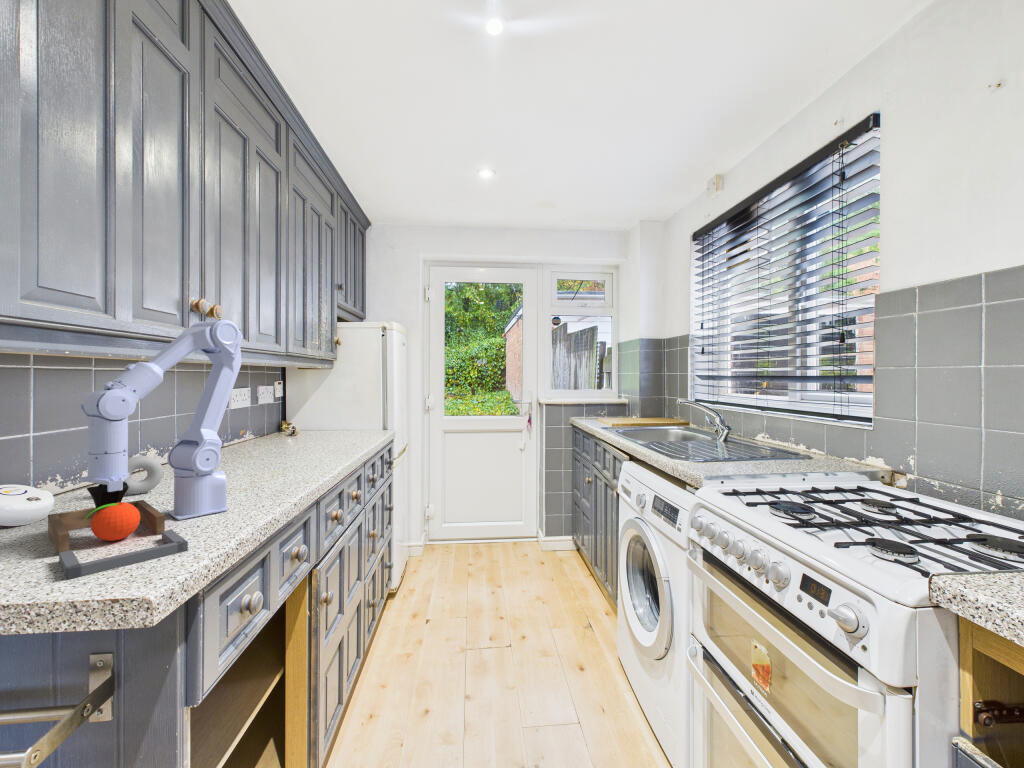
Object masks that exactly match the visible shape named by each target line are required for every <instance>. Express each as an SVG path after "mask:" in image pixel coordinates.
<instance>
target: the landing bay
mask: <svg viewBox="0 0 1024 768" xmlns="http://www.w3.org/2000/svg"><path fill="white" fill-rule="evenodd" d="M161 540H162V542H164V543H165V544H160V545H157V546H153V547H149V548H143V549H139V550H134V551H130V552H125V553H121V554H117V555H113V556H109V557H108V556H107V557H103V558H100V559H95V560H91V561H85V562H82V563H80V562H79V560H78V557H77V556H76V554H75V553H74V551H73V550H72V549H71V550H70V549H69V551H65V552H60V553H59V554H58V562H59V564H60V566H61V568H62V570H63V573H64V575H65V577H66V579H67V580H71V579H75V578H79V577H84V576H88V575H93V574H96V572H97V573H101V572H105V571H109V570H112V569H111V568H113V569H116V568H115V567H117V568H120V567H119V566H122V567H125V566H124V565H126V566H129V564H130V565H132V564H133V563H134V564H137V563H142V562H146V561H150V560H155V559H158V558H162V557H166V556H170V555H174V554H178V553H183V552H187V551H188V550H189V547H188V546H189V542H188V541H187V540H186V539H185V538H184V537H182V536H181V535H180V534H179V533H177V532H176V531H174V530H173V529H167V530H165V531H162V534H161ZM186 550H187V551H186ZM108 569H109V570H108ZM104 570H105V571H104ZM100 571H101V572H100ZM92 573H93V574H92Z"/></svg>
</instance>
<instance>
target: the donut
mask: <svg viewBox="0 0 1024 768" xmlns="http://www.w3.org/2000/svg"><path fill="white" fill-rule="evenodd" d="M138 469H142V470H144V471H146V473H147V474H146V476H145V478H143V479H141V480H135V479H133V478H132V474H133V472H134V471H136V470H138ZM128 472H129V477H128V478H127V479H126V480H124V481H123V482H126V483H127V485H128V486H129V488H128V490H127V492H126V493H125V494H130V495H141V494H144V493H148V492H150V491H152V490H153V489H156V487H157V486H158V485H159V484H160V482H161V481H162V479H163V476H164V469H163V465H162V464H161V463H160V461H159V460H157V459H156V458H154V457H152V456H148V455H137V456H136V455H135V456H132V457H130V458H129V457H128ZM140 493H141V494H140Z"/></svg>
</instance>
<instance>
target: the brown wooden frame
mask: <svg viewBox="0 0 1024 768" xmlns="http://www.w3.org/2000/svg"><path fill="white" fill-rule="evenodd" d="M125 503H129V504H131V505H133V506H134V507H136V508H137V509H138V511H139V513H140V517H141V518H140V520H141V521H142V522H143V523H144V524H143V523H142V522H141V521H140V522H141V523H142V524H143V525H145V526H146V527H147V528H148V529H149V530H150V529H151V530H150V531H151V532H153V533H154V535H156V536H159V535H162V531H166V530H165V529H166V528H165V527H166V526H165V525H166V524H165V522H166V521H165V517H166V516H165V515H164V514H163V513H162V512H161V511H159V510H158V509H156V508H155V507H153V506H152V505H151V504H149V503H148V502H147V501H145V500H144V499H141V500H140V499H139V500H134V501H127V502H125ZM95 509H96V506H95V507H90V508H89V507H88V508H82V509H76V510H71V511H70V510H69V511H63V512H57V513H51V514H48V515H47V533H48V535H49V538H50V540H51V542H52V544H53V546H54V548H55V551H56V552H57V555H59V553H60V552H65V551H70V532H69V531H73V530H79V529H78V528H80V529H84V527H85V528H90V527H89V526H91V521H92V519H93V517H94V515H95V514H96V513H97V511H95V512H93V513H91V514H90V515H89V513H90V512H92V511H93V510H95ZM88 515H89V516H88ZM87 516H88V517H87ZM86 517H87V518H86ZM85 519H86V520H85ZM84 521H85V522H84Z"/></svg>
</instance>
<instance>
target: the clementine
mask: <svg viewBox="0 0 1024 768" xmlns="http://www.w3.org/2000/svg"><path fill="white" fill-rule="evenodd" d="M99 509H100V510H99ZM97 510H99V511H98V512H97V513H96V514H95V515H94V517H93V519H92V521H91V527H90V530H91V532H92V533H93V535H94V536H95V537H96V538H98V539H100V540H102V541H107V542H108V541H109V542H116V540H117V541H120V540H122V539H125V538H127V537H130V535H132V534H133V533H134V532H135V531H136V530H137V528H139V525H140V522H141V521H140V518H141V517H140V513H139V511H138V509H137V508H136V507H134V506H133V505H131V504H129V503H126V502H125V501H124V502H123V501H121V502H115V503H112V504H107V505H104V506H101V507H98V508H97V509H95V510H93V511H92V512H90V513H89V515H90V514H91V513H93V512H95V511H97ZM89 515H88V516H89ZM88 516H87V517H88ZM87 517H86V518H87ZM85 520H86V519H85ZM84 522H85V521H84Z"/></svg>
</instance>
